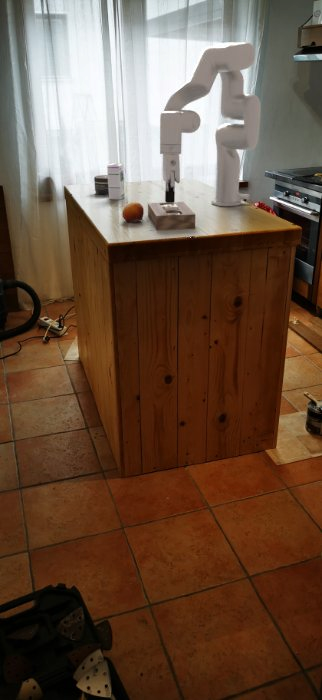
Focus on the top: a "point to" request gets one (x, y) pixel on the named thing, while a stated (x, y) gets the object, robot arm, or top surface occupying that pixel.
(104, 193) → the jar
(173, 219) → the wooden slot board
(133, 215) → the fruit
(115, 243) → the top surface
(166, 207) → the button
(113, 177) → the syrup box
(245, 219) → the top surface
